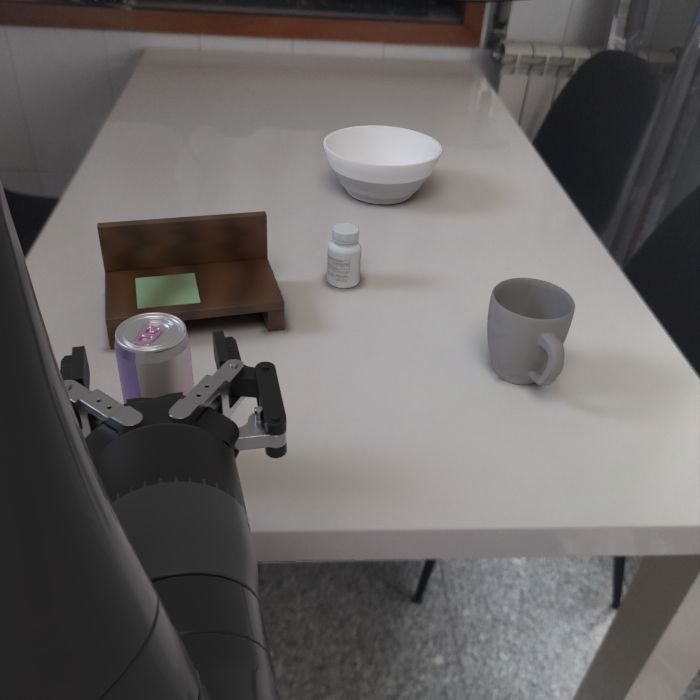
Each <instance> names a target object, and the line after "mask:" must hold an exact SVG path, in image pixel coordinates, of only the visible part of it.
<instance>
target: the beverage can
mask: <svg viewBox="0 0 700 700" xmlns="http://www.w3.org/2000/svg"><path fill="white" fill-rule="evenodd" d="M115 339H116V340H115V345H114V348H115V349H114V354H115V358H116V359H115V360H116V364H117V370H118V377H119V382H120V389H121V393H122V399H123V404H125V403H127V402H126V399H133V398H156V397H160V396H163V395H166V394H170V393H178V392H183V395H185V396H187V395H188V394H189V392H190V391H191V390H192V389H193V388H194V387H195V380H194V370H193V360H192V349H191V339H190V336H189V333H188V331H187V326H186V323H185V322H184V320H183V321H182V320H181V319H180V318H178V317H176V316H174V315H171V314H167V313H159V312H152V313H144V314H139V315H136V316H133V317H131V318H129V319H127V320H125V321H124V322H122V323H121V324H120V325H119V326H118V328H117V329H116V332H115Z"/></svg>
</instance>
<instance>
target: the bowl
mask: <svg viewBox="0 0 700 700" xmlns="http://www.w3.org/2000/svg"><path fill="white" fill-rule="evenodd" d="M322 146H323V148H324V151H325V154H326V157H327V160H328V164H329V165H330V168H331V169H332V171H333V173H334V175H335V177H337V179H338V181H339V183H340V185H341V186H342V187H343V188H344V189H345V190H346V192H347V194H348V195H349V196H350V197H352V198H353V199H355V200H357V201H359V202H364V203H367V204H373V205H394V204H399V203H403V202H405V201H407V200H409V199H410V198H411V197H412V196H413V194H414V193H416V192H417V191H419V190H420V188H421V187H422V185H423V184H424V183H425V182H426V181H427V180H428V179H429V177H430V176H431V175H432V173H433V172H434V170H435V168H436V167H437V164H438V162H439V160H440V158H441V157H442V154H443V147H442V144H441V143H440V142H439V141H438V140H437V139H435V138H434V137H432V136H430V135H428V134H427V133H423V132H420V131H417V130H414V129H409V128H406V127H405V128H404V127H399V126H391V125H380V124H379V125H378V124H377V125H375V124H373V125H372V124H371V125H369V124H368V125H365V124H364V125H355V126H348V127H343V128H340V129H337V130H333V131H332V132H330V133H329V134H327V135H326V136H325V137H324V139H323V143H322Z"/></svg>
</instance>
